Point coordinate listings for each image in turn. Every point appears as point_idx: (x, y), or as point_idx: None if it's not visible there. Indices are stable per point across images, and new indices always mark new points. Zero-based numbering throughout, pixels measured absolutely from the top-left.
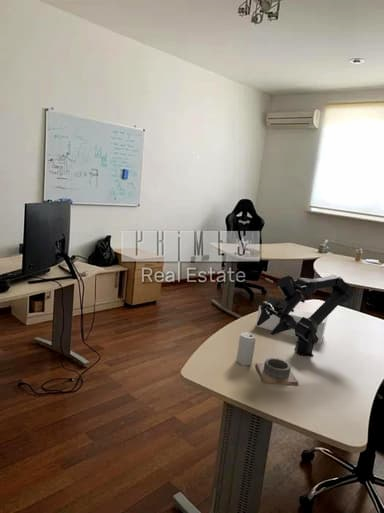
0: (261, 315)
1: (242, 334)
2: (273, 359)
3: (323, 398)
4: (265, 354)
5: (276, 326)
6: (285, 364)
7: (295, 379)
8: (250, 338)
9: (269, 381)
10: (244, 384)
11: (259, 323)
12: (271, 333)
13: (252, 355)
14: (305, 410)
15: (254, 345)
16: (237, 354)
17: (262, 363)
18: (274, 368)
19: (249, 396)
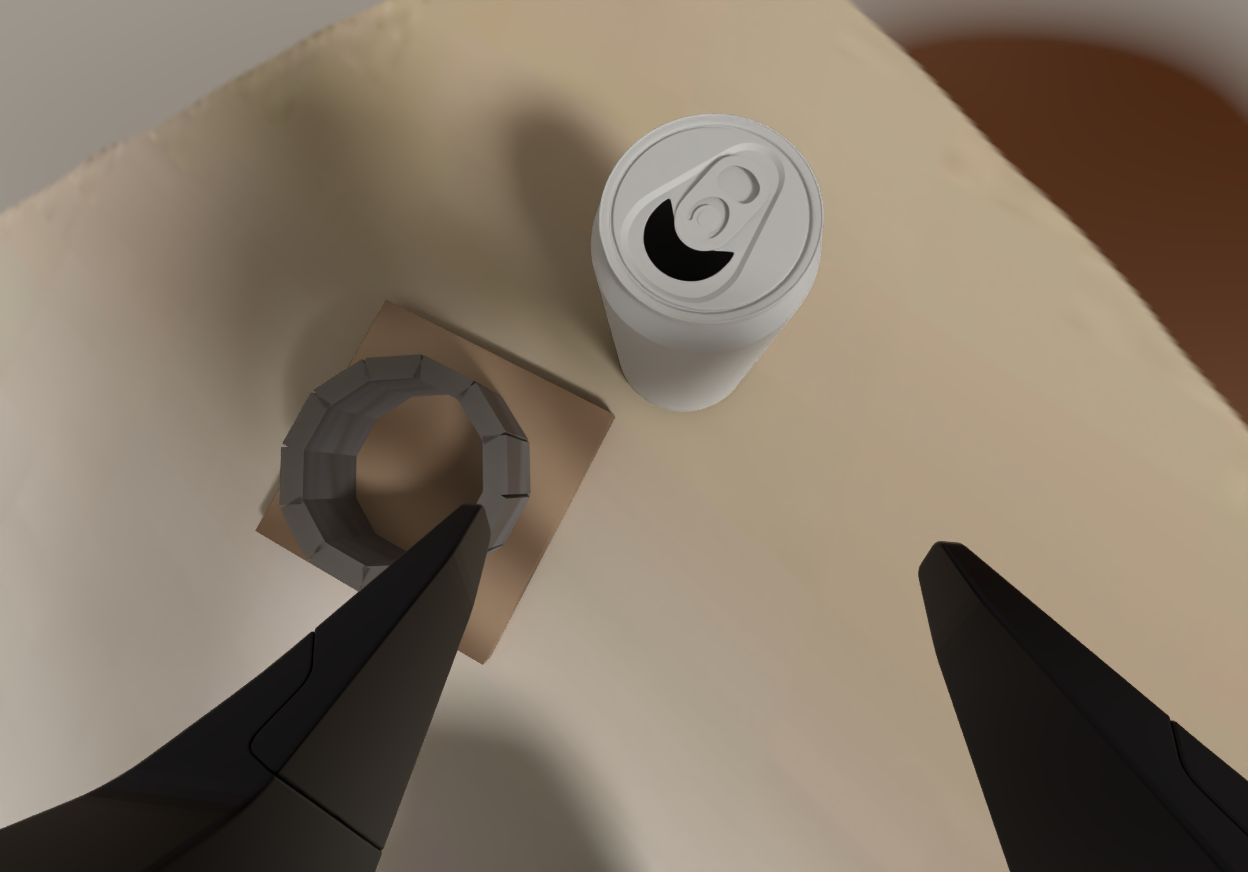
0: (1224, 810)
1: (769, 158)
2: (480, 501)
3: (84, 566)
4: (740, 644)
5: (348, 656)
6: (385, 562)
7: (292, 541)
8: (606, 186)
9: (370, 335)
10: (436, 167)
11: (954, 613)
12: (458, 508)
13: (617, 351)
14: (69, 342)
15: (615, 329)
16: (714, 261)
17: (584, 461)
18: (346, 378)
19: (322, 117)
